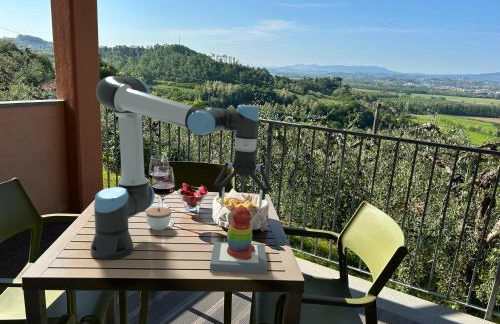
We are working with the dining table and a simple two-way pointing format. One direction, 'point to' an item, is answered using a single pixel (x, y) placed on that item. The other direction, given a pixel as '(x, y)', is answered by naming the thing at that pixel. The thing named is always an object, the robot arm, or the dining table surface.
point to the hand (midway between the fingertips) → (241, 207)
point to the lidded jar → (158, 218)
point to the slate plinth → (238, 260)
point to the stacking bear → (240, 234)
